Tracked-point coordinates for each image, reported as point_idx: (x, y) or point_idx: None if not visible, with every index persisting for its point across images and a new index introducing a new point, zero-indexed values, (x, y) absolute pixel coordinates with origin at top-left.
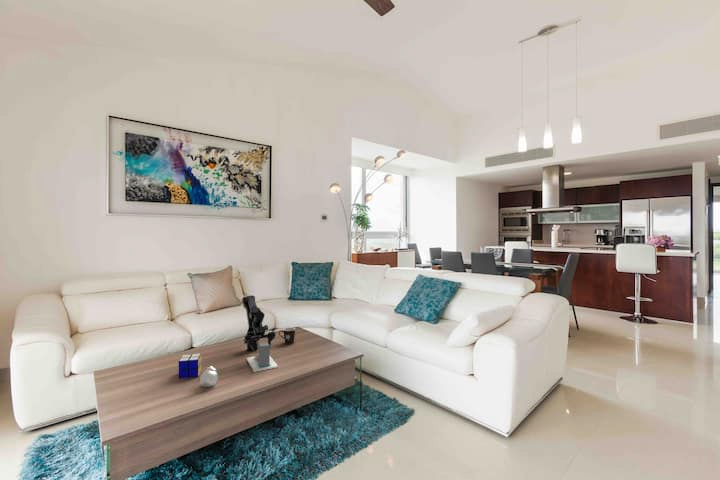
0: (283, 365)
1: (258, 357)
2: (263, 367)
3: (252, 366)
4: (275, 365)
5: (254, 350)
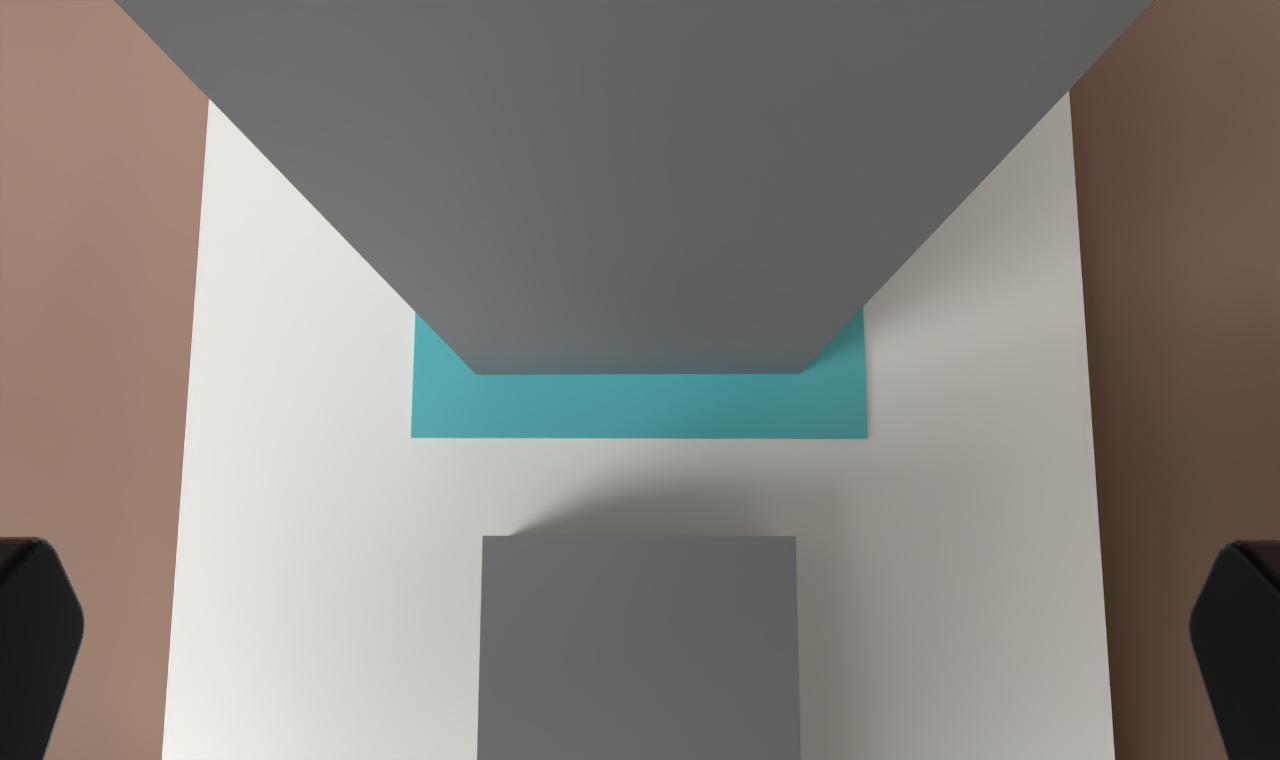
0: (19, 55)
1: (776, 737)
2: None
3: (1060, 300)
4: None
5: (1272, 541)
